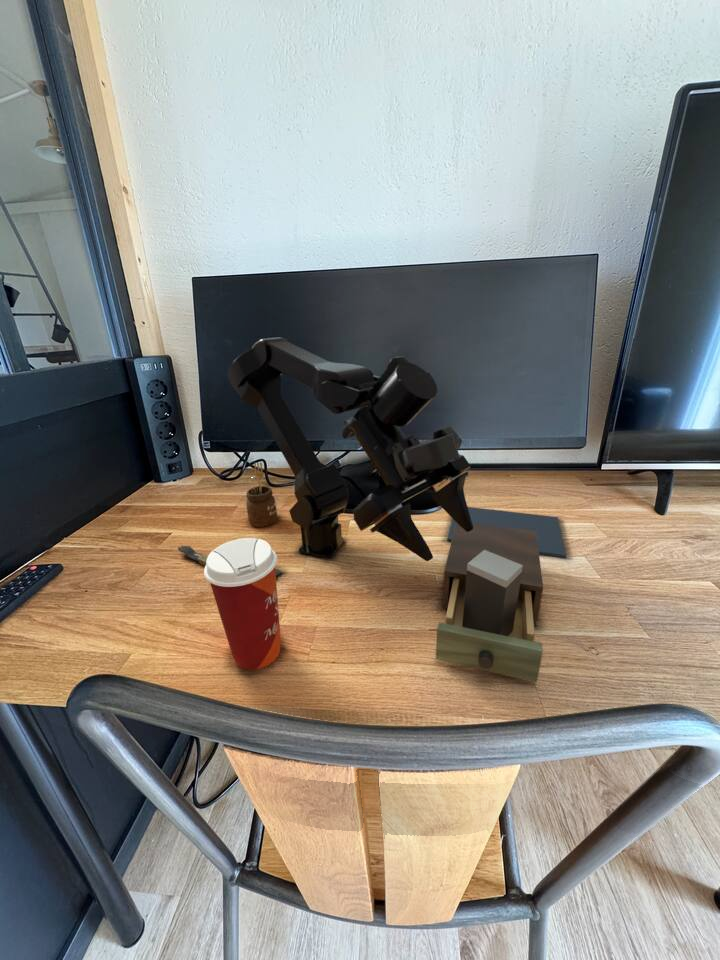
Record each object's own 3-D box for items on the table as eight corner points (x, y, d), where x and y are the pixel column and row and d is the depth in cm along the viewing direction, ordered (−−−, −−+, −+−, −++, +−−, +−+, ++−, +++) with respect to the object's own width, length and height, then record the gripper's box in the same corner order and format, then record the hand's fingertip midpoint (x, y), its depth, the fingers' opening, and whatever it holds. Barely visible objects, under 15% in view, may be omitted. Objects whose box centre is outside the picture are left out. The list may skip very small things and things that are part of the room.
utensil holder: (246, 529, 81) (237, 474, 76) (251, 514, 87) (243, 463, 82) (276, 526, 82) (268, 472, 77) (279, 512, 87) (272, 461, 83)
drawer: (537, 692, 44) (544, 659, 42) (433, 667, 47) (435, 636, 45) (531, 604, 57) (535, 576, 55) (449, 590, 60) (451, 563, 58)
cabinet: (536, 626, 54) (543, 587, 51) (442, 608, 58) (444, 570, 55) (530, 565, 67) (536, 531, 64) (454, 553, 70) (456, 520, 68)
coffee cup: (297, 661, 50) (284, 561, 44) (230, 688, 47) (206, 584, 41) (279, 619, 57) (265, 528, 51) (220, 640, 54) (197, 545, 48)
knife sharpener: (461, 627, 52) (467, 563, 48) (477, 611, 54) (484, 549, 50) (497, 648, 48) (506, 580, 44) (513, 630, 51) (523, 565, 47)
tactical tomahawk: (283, 575, 67) (283, 570, 67) (254, 595, 62) (253, 589, 62) (204, 540, 78) (204, 535, 78) (173, 554, 73) (172, 549, 72)
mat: (447, 541, 74) (447, 538, 74) (455, 507, 86) (455, 505, 86) (565, 558, 68) (566, 555, 68) (557, 519, 80) (557, 517, 80)
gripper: (367, 426, 42) (451, 554, 39) (462, 396, 54) (532, 492, 51) (324, 476, 50) (391, 585, 47) (415, 441, 62) (473, 526, 59)
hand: (451, 544), depth 51 cm, fingers open, 9 cm apart
